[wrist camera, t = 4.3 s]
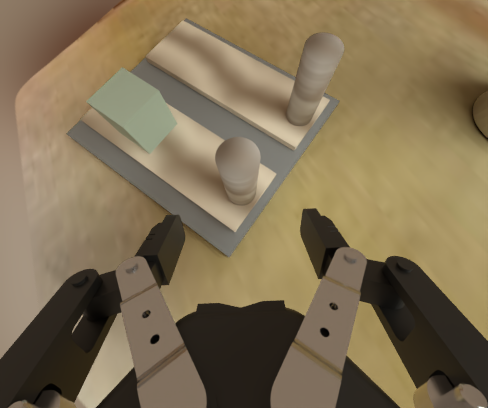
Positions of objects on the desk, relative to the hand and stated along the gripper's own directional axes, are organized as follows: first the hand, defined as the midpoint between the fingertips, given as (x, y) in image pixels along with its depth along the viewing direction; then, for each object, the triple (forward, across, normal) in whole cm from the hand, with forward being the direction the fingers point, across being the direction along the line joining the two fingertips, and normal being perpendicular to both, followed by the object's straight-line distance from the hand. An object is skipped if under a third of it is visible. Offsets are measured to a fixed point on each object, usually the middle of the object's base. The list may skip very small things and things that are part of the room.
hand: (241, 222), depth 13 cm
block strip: (+14, +8, -2) cm, 16 cm away
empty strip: (+20, 0, -8) cm, 22 cm away
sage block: (+15, +11, -4) cm, 19 cm away
